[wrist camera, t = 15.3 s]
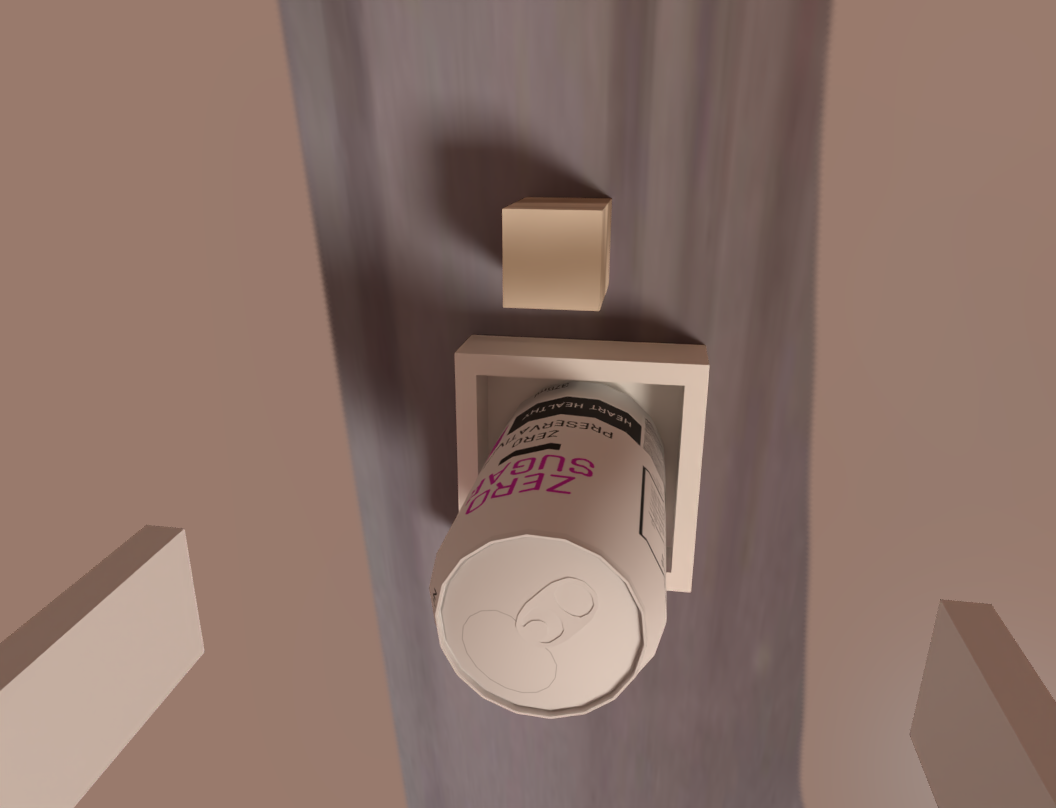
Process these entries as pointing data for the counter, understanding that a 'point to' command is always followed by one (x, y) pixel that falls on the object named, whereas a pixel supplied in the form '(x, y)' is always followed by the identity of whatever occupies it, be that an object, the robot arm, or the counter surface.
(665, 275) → the counter surface
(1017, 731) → the robot arm
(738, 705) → the counter surface
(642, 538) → the supplement can
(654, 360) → the off-white tray
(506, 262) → the birch block
